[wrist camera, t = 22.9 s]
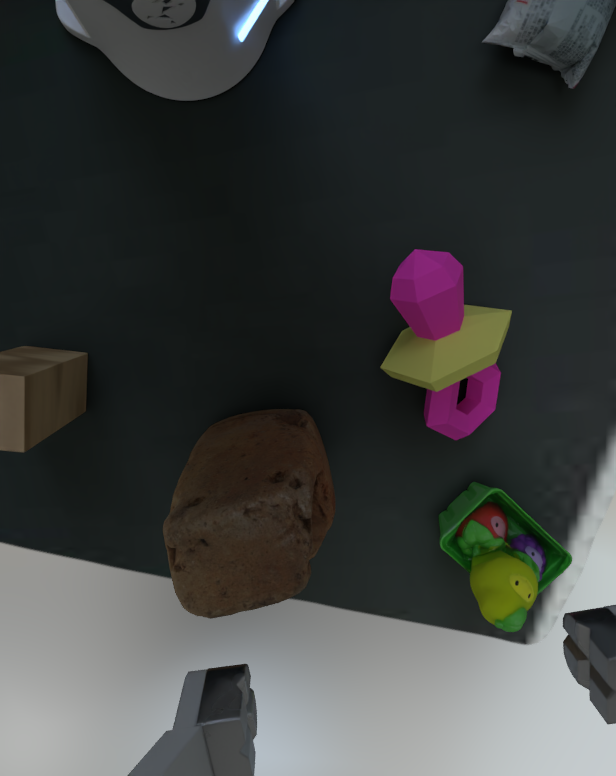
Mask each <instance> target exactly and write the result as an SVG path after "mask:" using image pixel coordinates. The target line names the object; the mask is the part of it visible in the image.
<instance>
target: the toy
mask: <svg viewBox="0 0 616 776" xmlns="http://www.w3.org/2000/svg"><path fill="white" fill-rule="evenodd" d="M390 300H391V301H392V303H393V304H394V305H395V307H396V308H397V309H398V311H399V312H400V314H401V315H402V316H403V318H404V319H405V321H406V322H407V323H408V325H409V326H410V327H409V328H407V329H405V330H403V331H402V332H401V333H400V335H399V337H398V338H397V340H396V342H395V343H394V345H393V347H392V348H391V350H390V352H389V353H388V355H387V357H386V358H385V360H384V362H383V363H382V365H381V367H380V368H381V369H382V370H384V371H385V372H386V373H387V374H388V375H389V376H390V377H393V378H396V379H399V380H402V381H405V382H408V383H411V384H414V385H417V386H420V387H423V388H426V389H427V393H426V400H425V408H424V417H425V421H426V425H427V427H429V428H431V429H433V430H435V431H437V432H439V433H442V434H444V435H446V436H448V437H450V438H452V439H454V440H458V439H461V438H463V437H465V436H468V435H470V434H471V433H472V432H473V431H474V430H475V429H476V428H477V427H478V426H479V425H480V424H481V423H482V422H483V421H484V420H485V419H486V418H487V417H488V416H489V415H490V414H491V413H492V412H493V411H494V410H495V408H496V401H497V395H498V388H499V382H500V375H501V372H500V370H499V368H498V367H497V365H496V361H497V358H498V356H499V353H500V350H501V347H502V344H503V342H504V339H505V336H506V333H507V330H508V328H509V323H510V318H511V313H512V311H511V310H503V309H495V308H487V307H479V306H471V305H464V287H463V266H462V265H461V264H460V263H459V262H458V261H457V260H456V259H455V258H454V257H453V256H452V255H451V254H450V253H449V252H438V251H428V250H418V249H415V250H414V251H413V252H412V253H411V254H410V255H409V256H408V257H407V258H406V259H405V260H404V261H403V262H402V263H401V264H400V265H399V267H398V269H397V271H396V273H395V275H394V276H393V279H392V287H391V296H390ZM464 378H468V384H467V391H466V398H464V399H463V400H462V401H461V402H460V403H459V404H458V405H457V399H458V392H459V385H460V380H462V379H464Z"/></svg>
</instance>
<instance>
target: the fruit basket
mask: <svg viewBox="0 0 616 776" xmlns="http://www.w3.org/2000/svg"><path fill="white" fill-rule="evenodd" d="M438 517H439V526H440V534H441V535H440V547H441V548H442V549H443V550H444V551H445V552H446V553H447V554H448V555H450V556H451V557H452V558H453V559H454V560H455V561H457V562H458V563H459V564H460V565H461V566H462V567H463V568H464V569H466V570H467V571H468V572H469V573H470V584H471V588H472V591H473V594H474V596H475V597H476V599H477V601H478V603H479V608H480V611H481V613H482V615H483V616H484V618H485V619H486V620H487V621H489V622H490V623H492V624H494V625H495V627H497V628H502V629H503V630H504V631H507V632H515V631H518V630H520V629H521V628H522V626H523V624H524V622H525V620H526V617H527V611H528V610H529V609H530V607H531V606H532V605H533V603H534V601H535V599H536V596H537V595H538V594H539V593H540V592H541V591H542V590H543V589H545V588H546V587H547V586H548V585H549V584H550V583H551V582H552V581H554V579H556V578H557V577H558V576H559V575H560V574H562V573H563V572H564V570H565V569H567V568H568V566H569V565H570V564H571V562H572V557H571V555H570V553H569V552H567V551H566V550H565V549H564V548H563V547H562V546H561V545H560V544H559V543H558V542H557V541H555V540H554V539H553V538H552V537H551V536H550V535H549V534H548V533H547V532H546V531H545V530H544V529H543V528H542V527H541V526H540V525H538V524H537V523H536V522H535V521H534V520H533V519H532V518H531V517H530V516H529V515H528V514H527V513H526V512H525V511H524V510H523V509H522V508H520V507H519V506H518V505H517V504H516V503H515V502H514V501H513V500H512V499H511V498H510V497H509V496H508V495H507V494H506V493H505V492H504V491H502V490H501V489H498V488H490V487H487V486H485V485H482V484H479V483H476V482H472V483H471V484H470V485H469V487H468V489H467V490H465V491H464V492H462V493H461V494H460V495H459V496H458V497H457V498H456V499H455V500H454V501H453V502H452V503H451V504H450V505H449V506H448V508H447V510H445V511H443V512H441V513H440V514H439V516H438Z"/></svg>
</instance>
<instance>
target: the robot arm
mask: <svg viewBox="0 0 616 776" xmlns="http://www.w3.org/2000/svg"><path fill="white" fill-rule="evenodd" d="M294 1H295V0H56V11H57V15H58V17H59V19H60V21H61V22H62V24H63V26H64V27H65V28H66V29H67V30H68V31H69V32H70V33H71V34H73V35H74V36H76V37H78V38H79V39H81V40H83V41H85V42H87V43H89V44H91V45H93V46H95V47H97V48H98V49H100V50H101V51H102V52H103V53H104V54H105V55H106V56H107V57H108V58H109V59H110V60H111V62H112V63H113V64H114V65H115V66H116V67H117V68H118V69H119V70H120V71H121V72H122V73H123V74H124V75H125V76H126V77H127V78H128V79H129V80H131V81H132V82H133V83H135V84H136V85H138V86H139V87H141V88H143V89H144V90H146V91H148V92H150V93H153V94H155V95H158V96H160V97H164V98H168V99H173V100H180V101H194V100H201V99H206V98H210V97H213V96H216V95H218V94H221V93H223V92H225V91H226V90H228V89H230V88H231V87H233V86H234V85H236V84H237V83H238V82H239V81H241V80H242V79H243V78H244V77H245V76H246V75H247V74H248V73H249V72H250V70H251V69H252V68H253V66H254V65H255V64H256V62H257V61H258V59H259V57H260V55H261V54H262V52H263V50H264V47H265V45H266V42H267V40H268V37H269V35H270V32H271V30H272V27H273V25H274V24H275V22H276V20H277V19H278V18H279V17H280V16H281V15H282V14H283V13H284V12H285V11H286V10H287V9H288V8H289V7H290V6H291V4H292V3H293V2H294ZM563 627H564V629H565V630H566V632H567V633H568V636H567V637H566V639H565V640H564V642H563V647H564V655H565V659H566V662H567V665H568V667H569V669H570V671H571V673H572V675H573V677H574V678H575V679H576V681H577V682H578V684H580V685H582V686H583V687H585V688H587V689H589V690H590V701H591V702H592V703H593V705H594V706H595V707H596V709H597V710H598V712H599V713H600V714H601V716H602V717H603V718H604V720H605V721H606V723H607V724H613V723H616V605H611V606H606V607H603V608H596V609H590V610H584V611H577V612H571V613H565V615H564V617H563ZM250 677H251V676H250V672H249V667H248V665H247V664H241V665H233V666H225V667H218V668H210V669H207V670H198V671H191V672H188V674H187V675H186V677H185V681H184V685H183V689H182V693H181V697H180V701H179V706H178V709H177V714H176V717H175V722H174V726H173V730H170V731H166V732H165V733H164V734H163V736H162V737H161V738H160V739H159V740H158V741H157V742H156V744H155V745H154V746H153V747H152V748H151V750H150V751H149V752H148V753H147V754H146V755H145V756H144V757H143V759H142V760H141V761H140V762H139V763H138V765H136V767H135V768H134V769H133V770H132V771H131V772H130V773H129V775H128V776H254V768H255V748H254V744H253V739H254V738H255V736H256V734H257V710H256V701H255V695H254V691H253V690H252V689H251V688H250Z"/></svg>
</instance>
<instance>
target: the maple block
mask: <svg viewBox="0 0 616 776" xmlns="http://www.w3.org/2000/svg"><path fill="white" fill-rule="evenodd" d="M87 362H88V353H84V352H75V351H66V350H58V349H49V348H40V347H32V346H22V347H18V348H14V349H10V350H6V351H3V352H0V450H4V451H14V452H26V451H27V450H29V449H30V448H32V447H33V446H35V445H36V444H38V443H39V442H41V441H42V440H44V439H45V438H47V437H48V436H50V435H51V434H53V433H54V432H56V431H57V430H59V429H60V428H62V427H63V426H65V425H66V424H68V423H69V422H71V421H72V420H74V419H75V418H77V417H78V416H80V415H81V414H83V413H84V412H86V393H87Z"/></svg>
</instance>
